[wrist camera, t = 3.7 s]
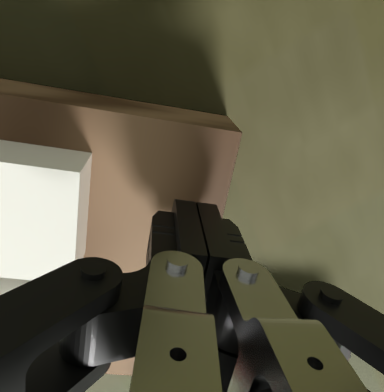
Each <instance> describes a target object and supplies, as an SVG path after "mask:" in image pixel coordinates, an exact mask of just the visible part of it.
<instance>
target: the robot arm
mask: <svg viewBox="0 0 384 392" xmlns="http://www.w3.org/2000/svg"><path fill="white" fill-rule="evenodd" d="M341 346H344V347H345V348H347V349H348V350H349V351H351V352H352V353H354V354H355V355H357V356H358V357H359V358H361V359H362V360H364V361H365V362H367V363H368V364H369V365H371V366H372V367H374V368H375V369H377V370H378V371H379V372H381V373H382V374H384V315H383V314H382V313H380V312H378V311H377V310H375V309H373V308H372V307H370V306H368V305H367V304H365V303H363V302H362V301H360V300H358V299H357V298H355V297H353V296H352V295H350V294H348V293H347V292H345V291H343V290H342V289H340V288H338V287H336V286H334V285H331V284H328V283H325V282H320V281H312V282H308V283H306V284H305V285H304V287H303V290H302V293H298V292H294V291H291V290H288V289H285V288H282V287H279V286H278V285H277V283H276V281H275V280H274V278H273V276H272V275H271V273H270V272H269V271H268V270H267V269H266V268H265V267H264V266H262V265H261V264H259V263H257V262H254V261H252V258H251V256H250V254H249V251H248V249H247V247H246V245H245V244H244V240H243V238H242V237H241V233H240V231H239V229H238V227H237V226H236V225H235V224H234V223H233V222H231V221H230V220H229V219H222V218H221V215H220V212H219V210H218V207H217V205H216V204H209V203H201V202H196V203H195V202H194V201H186V200H179V199H174V202H173V207H172V212H167V211H157V212H156V213H155V214H154V215H153V216H152V222H151V228H150V234H149V241H148V247H147V253H146V267H144V268H142V269H140V270H138V271H134V272H129V273H123V272H122V270H121V268H120V267H119V266H118V265H117V264H116V263H114V262H112V261H110V260H108V259H104V258H99V257H85V258H80V259H77V260H74V261H72V262H70V263H68V264H66V265H63V266H61V267H59V268H57V269H55V270H53V271H51V272H49V273H46V274H44V275H42V276H40V277H38V278H36V279H34V280H31V281H29V282H27V283H25V284H23V285H21V286H19V287H17V288H14V289H12V290H10V291H8V292H6V293H4V294H2V295H0V392H85V391H86V390H87V389H88V388H89V387H90V386H92V385H93V384H94V383H95V382H96V381H97V380H98V379H100V378H101V377H102V376H103V375H104V374H105V373H106V372H107V371H108V369H109V367H110V365H111V362H115V361H120V360H124V359H129V358H133V357H135V360H134V366H133V372H132V378H131V384H130V390H129V392H370V391H369V390H368V389H366V387H365V386H364V384H363V383H362V381H361V380H360V378H359V377H358V375H357V374H356V372H355V371H354V369H353V368H352V367H351V365H350V364H349V362H348V361H347V359H346V358H345V356H344V355H343V353H342V352H341V350H340V348H341Z"/></svg>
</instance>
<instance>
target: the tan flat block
mask: <svg viewBox="0 0 384 392" xmlns="http://www.w3.org/2000/svg"><path fill="white" fill-rule="evenodd" d="M241 136H242V132H241V131H240V130H239V128H238V127H237V126H236V125H235V124H234V123H233V122H232V121H231V120H230V118H229V117H228V116H224V115H218V114H212V113H206V112H200V111H194V110H188V109H182V108H176V107H170V106H164V105H158V104H152V103H146V102H140V101H134V100H128V99H122V98H116V97H110V96H104V95H98V94H92V93H86V92H80V91H74V90H68V89H62V88H56V87H50V86H44V85H38V84H32V83H26V82H20V81H14V80H8V79H2V78H0V140H6V141H13V142H20V143H27V144H34V145H41V146H48V147H55V148H62V149H69V150H76V151H83V152H90V153H92V163H91V178H90V192H89V206H88V221H87V235H86V249H85V254H84V257H83V258H85V257H99V258H104V259H108V260H110V261H112V262H114V263H116V264H117V265H118V266H119V267H120V268H121V270H122V272H123V273H129V272H134V271H138V270H140V269H142V268H144V267H146V253H147V247H148V241H149V234H150V228H151V222H152V216H153V215H154V214H155V213H156V212H157V211H167V212H172V207H173V202H174V199H179V200H186V201H194V202H195V203H196V202H201V203H209V204H216V205H217V207H218V210H219V212H220V215H221V218H222V217H223V213H224V208H225V204H226V200H227V196H228V191H229V187H230V183H231V178H232V174H233V170H234V166H235V161H236V157H237V153H238V149H239V144H240V140H241ZM134 360H135V357H133V358H129V359H124V360H120V361H115V362H111V365H110V367H109V369H108V371H107V372H106V373H105V374H118V375H132V372H133V366H134Z"/></svg>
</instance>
